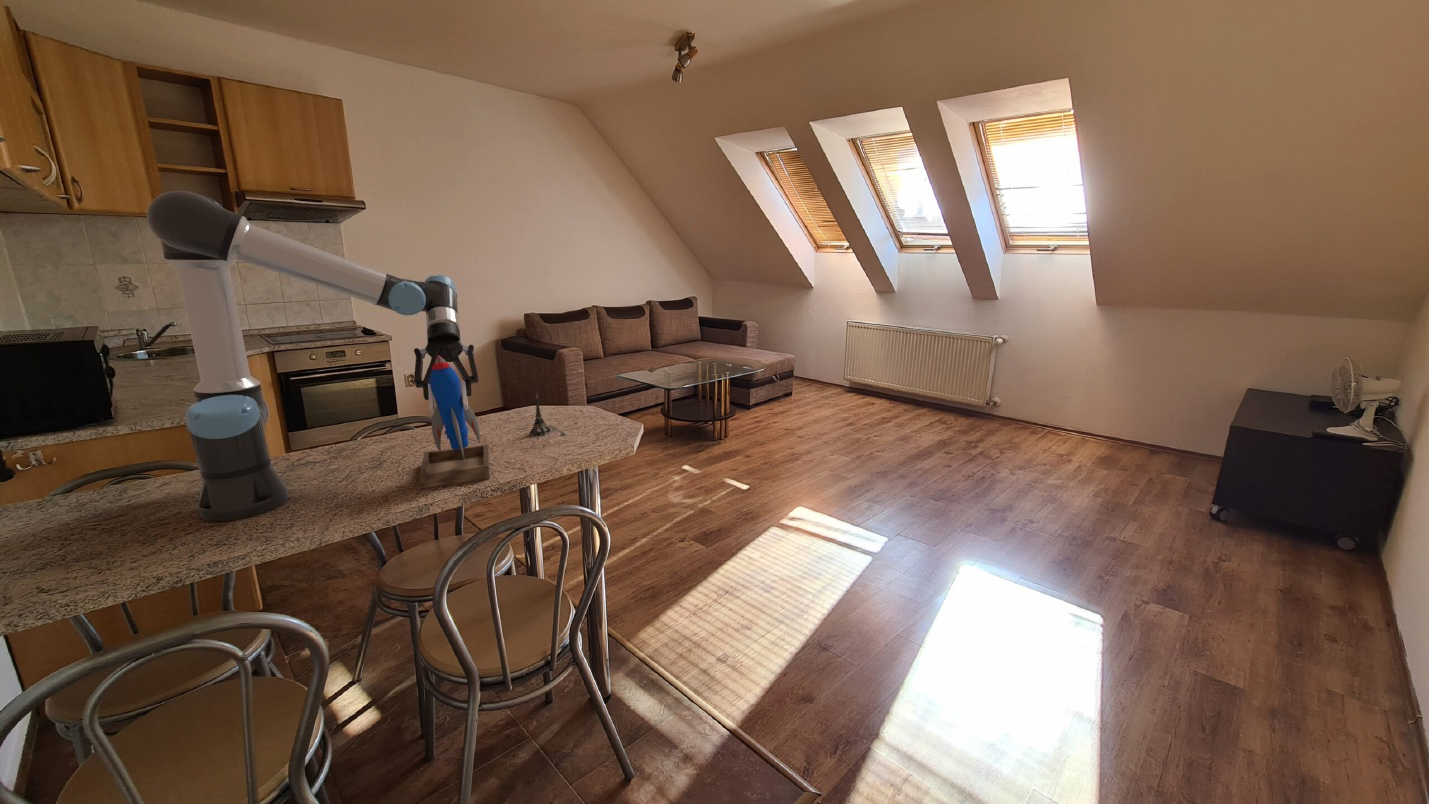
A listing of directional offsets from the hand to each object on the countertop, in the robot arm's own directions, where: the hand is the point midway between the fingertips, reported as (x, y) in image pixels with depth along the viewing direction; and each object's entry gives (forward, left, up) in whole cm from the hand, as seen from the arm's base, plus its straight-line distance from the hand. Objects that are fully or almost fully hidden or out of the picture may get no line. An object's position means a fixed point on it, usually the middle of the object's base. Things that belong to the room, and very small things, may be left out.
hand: (449, 408), depth 136 cm
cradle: (0, +3, -17) cm, 17 cm away
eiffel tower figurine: (+22, +26, -18) cm, 39 cm away
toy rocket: (0, +4, -12) cm, 13 cm away
